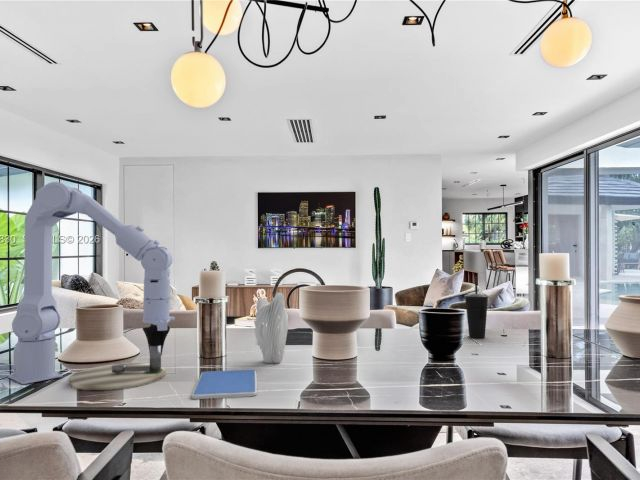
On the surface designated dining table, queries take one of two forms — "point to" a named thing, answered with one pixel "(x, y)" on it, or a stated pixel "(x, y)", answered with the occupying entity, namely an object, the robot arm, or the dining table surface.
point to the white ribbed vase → (271, 328)
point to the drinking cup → (476, 312)
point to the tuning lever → (154, 365)
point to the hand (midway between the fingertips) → (155, 357)
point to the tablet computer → (226, 384)
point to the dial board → (113, 378)
